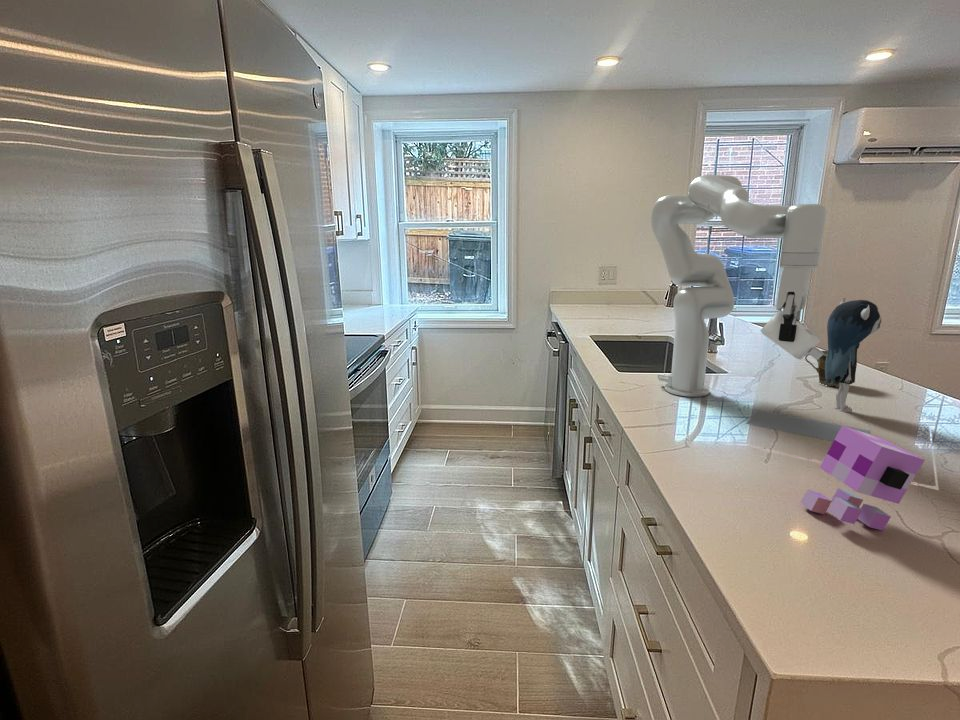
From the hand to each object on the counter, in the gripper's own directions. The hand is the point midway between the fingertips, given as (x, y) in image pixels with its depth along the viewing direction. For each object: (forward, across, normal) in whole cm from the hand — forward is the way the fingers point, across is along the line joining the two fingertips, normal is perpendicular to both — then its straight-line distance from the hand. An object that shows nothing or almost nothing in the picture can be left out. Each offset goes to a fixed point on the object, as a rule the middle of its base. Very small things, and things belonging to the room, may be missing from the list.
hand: (788, 338), depth 119 cm
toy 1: (+22, -23, +11) cm, 34 cm away
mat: (+22, -3, +6) cm, 23 cm away
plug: (+2, 0, 0) cm, 2 cm away
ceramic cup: (+22, -52, +5) cm, 57 cm away
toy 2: (+22, +39, +18) cm, 48 cm away
